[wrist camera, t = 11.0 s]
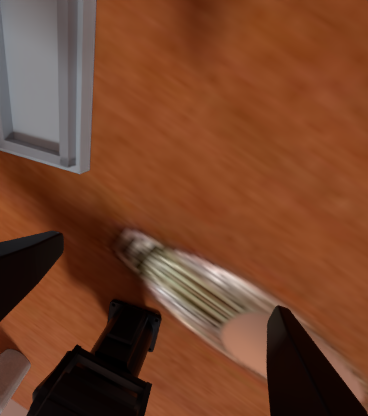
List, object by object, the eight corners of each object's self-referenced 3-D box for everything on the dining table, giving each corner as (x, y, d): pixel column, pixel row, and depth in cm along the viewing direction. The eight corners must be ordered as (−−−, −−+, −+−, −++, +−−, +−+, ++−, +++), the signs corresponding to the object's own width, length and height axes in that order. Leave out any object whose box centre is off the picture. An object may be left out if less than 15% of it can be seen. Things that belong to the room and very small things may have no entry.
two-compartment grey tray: (89, 170, 22) (72, 176, 20) (-35, 133, 23) (-64, 136, 21) (97, -41, 15) (73, -66, 13) (-73, -71, 17) (-121, -99, 15)
